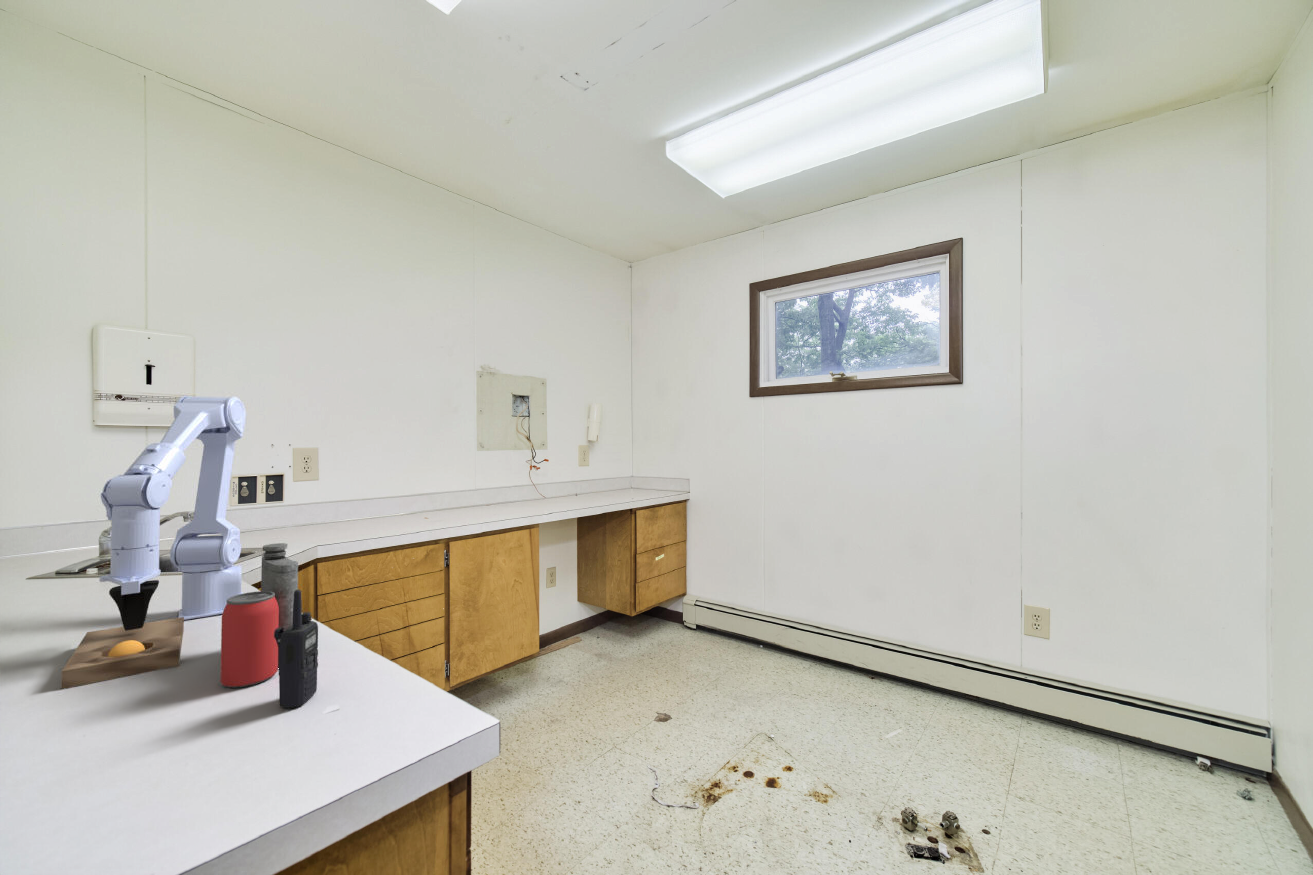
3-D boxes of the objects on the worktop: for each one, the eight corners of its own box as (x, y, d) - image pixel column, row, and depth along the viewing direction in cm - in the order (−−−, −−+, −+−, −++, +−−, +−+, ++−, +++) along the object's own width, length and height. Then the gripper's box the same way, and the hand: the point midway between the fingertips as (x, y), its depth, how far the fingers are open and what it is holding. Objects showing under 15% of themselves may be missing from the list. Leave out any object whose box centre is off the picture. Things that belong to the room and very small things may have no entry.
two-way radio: (300, 710, 66) (302, 592, 66) (262, 712, 66) (264, 594, 66) (321, 690, 72) (323, 581, 72) (286, 692, 71) (288, 582, 71)
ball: (143, 652, 78) (143, 670, 80) (146, 632, 81) (146, 649, 82) (104, 658, 76) (105, 677, 77) (109, 637, 78) (110, 655, 80)
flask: (269, 672, 77) (271, 551, 78) (253, 646, 87) (255, 539, 88) (298, 665, 80) (300, 548, 80) (280, 640, 90) (281, 537, 90)
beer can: (287, 674, 77) (289, 593, 77) (236, 693, 71) (237, 605, 71) (261, 666, 79) (263, 588, 80) (210, 684, 73) (211, 599, 74)
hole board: (183, 630, 95) (183, 616, 95) (178, 665, 80) (179, 649, 80) (86, 646, 87) (87, 632, 87) (61, 689, 72) (61, 671, 72)
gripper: (107, 542, 89) (105, 622, 89) (93, 556, 78) (91, 647, 78) (163, 538, 94) (162, 613, 93) (158, 550, 83) (156, 635, 82)
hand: (134, 628), depth 86 cm, fingers closed
